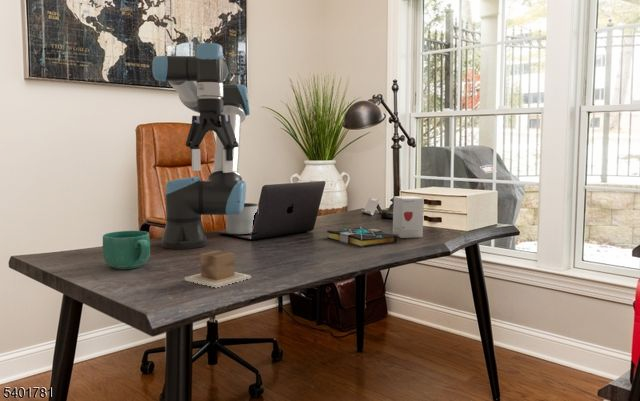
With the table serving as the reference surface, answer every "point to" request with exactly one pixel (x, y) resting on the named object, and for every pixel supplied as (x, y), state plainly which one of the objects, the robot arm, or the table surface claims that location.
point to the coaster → (217, 283)
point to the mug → (126, 249)
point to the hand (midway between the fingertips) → (211, 171)
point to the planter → (241, 220)
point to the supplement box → (408, 216)
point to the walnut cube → (217, 265)
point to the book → (362, 236)
